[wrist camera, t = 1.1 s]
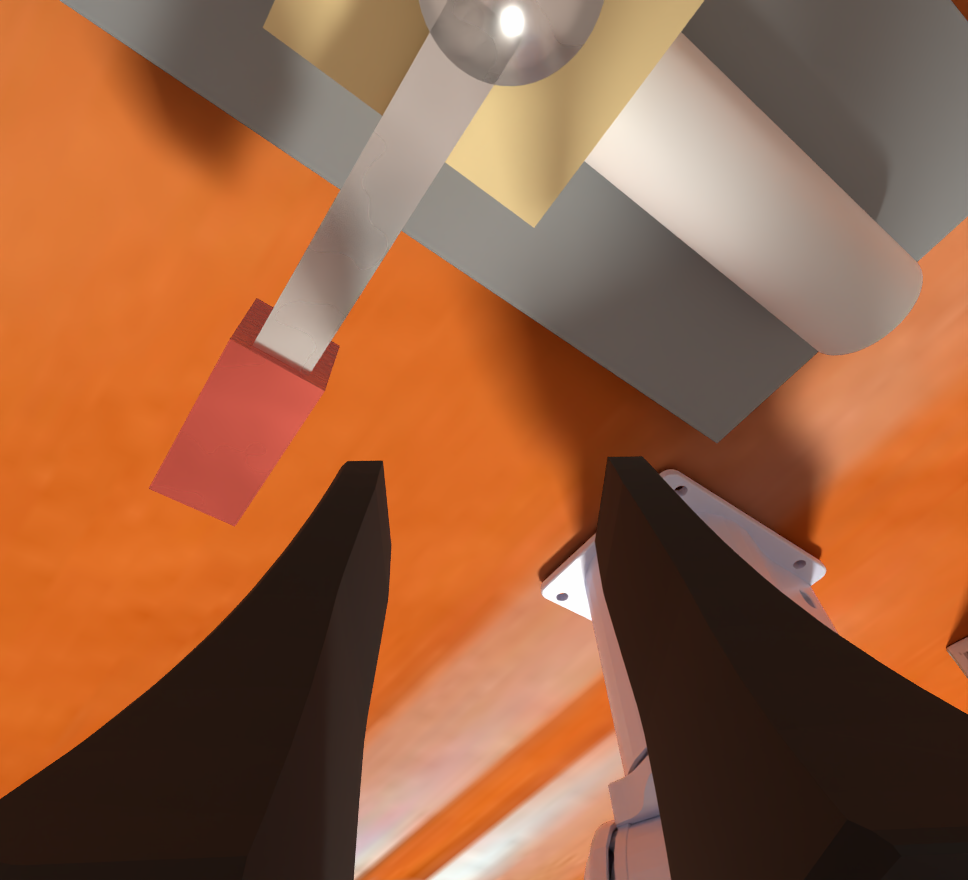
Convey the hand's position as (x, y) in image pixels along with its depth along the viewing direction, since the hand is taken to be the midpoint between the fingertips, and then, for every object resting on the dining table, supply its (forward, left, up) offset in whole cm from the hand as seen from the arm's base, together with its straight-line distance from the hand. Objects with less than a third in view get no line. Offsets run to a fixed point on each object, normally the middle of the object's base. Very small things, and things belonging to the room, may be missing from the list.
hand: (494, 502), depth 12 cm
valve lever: (+4, -1, -5) cm, 6 cm away
